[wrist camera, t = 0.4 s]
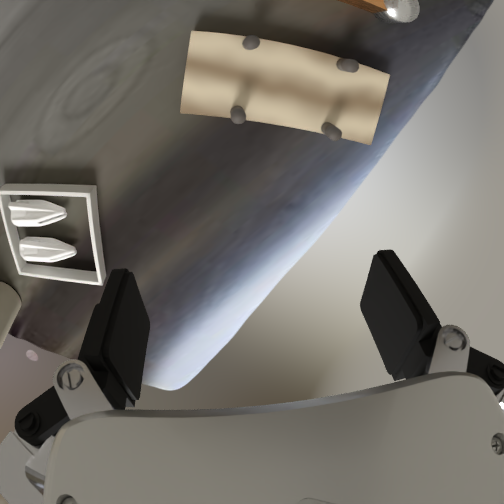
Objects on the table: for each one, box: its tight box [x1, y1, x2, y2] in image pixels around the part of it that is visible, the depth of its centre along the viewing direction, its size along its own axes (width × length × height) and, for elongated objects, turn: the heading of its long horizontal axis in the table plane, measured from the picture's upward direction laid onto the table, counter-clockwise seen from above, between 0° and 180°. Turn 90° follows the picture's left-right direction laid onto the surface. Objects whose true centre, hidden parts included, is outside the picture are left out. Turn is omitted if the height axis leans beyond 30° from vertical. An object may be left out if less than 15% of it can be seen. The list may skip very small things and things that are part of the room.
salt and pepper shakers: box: [8, 200, 77, 262], centre depth 39 cm, size 12×4×11 cm
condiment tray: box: [0, 184, 106, 286], centre depth 40 cm, size 16×17×2 cm
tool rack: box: [180, 31, 390, 145], centre depth 31 cm, size 10×24×5 cm, turn 80°
